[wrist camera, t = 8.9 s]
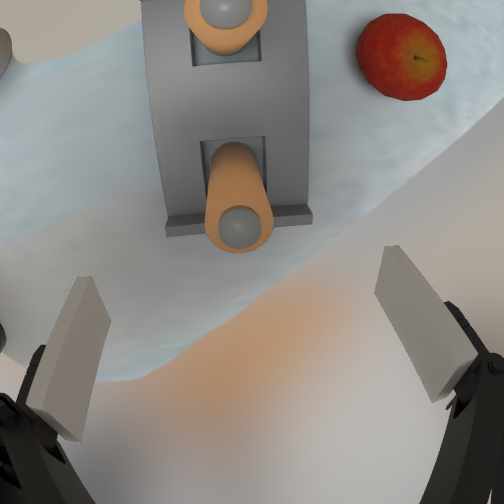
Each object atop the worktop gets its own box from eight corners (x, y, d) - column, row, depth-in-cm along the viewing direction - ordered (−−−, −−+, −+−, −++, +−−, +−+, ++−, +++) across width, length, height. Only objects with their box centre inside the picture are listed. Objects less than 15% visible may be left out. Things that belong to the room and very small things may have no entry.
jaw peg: (209, 143, 27) (199, 201, 16) (253, 140, 27) (275, 195, 16) (213, 184, 29) (208, 263, 18) (255, 180, 29) (276, 257, 18)
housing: (172, 216, 30) (149, 304, 20) (146, -4, 18) (90, -49, 7) (302, 205, 31) (343, 287, 20) (297, -16, 19) (352, -66, 8)
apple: (424, 54, 22) (475, 59, 16) (388, 109, 26) (433, 127, 19) (367, 3, 20) (411, -9, 13) (326, 62, 23) (362, 62, 17)
